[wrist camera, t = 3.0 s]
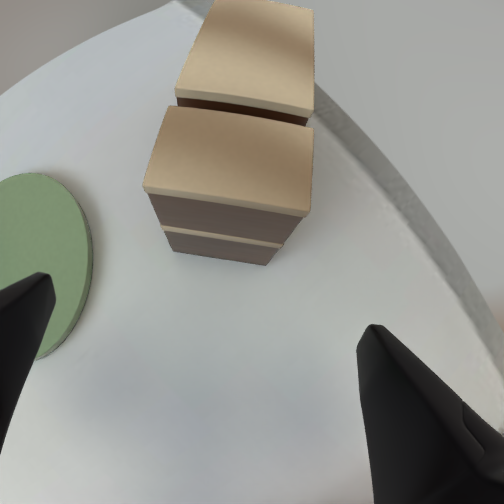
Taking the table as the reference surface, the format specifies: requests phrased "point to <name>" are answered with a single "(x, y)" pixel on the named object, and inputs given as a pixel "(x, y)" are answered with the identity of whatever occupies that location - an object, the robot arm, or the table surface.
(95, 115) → the table surface
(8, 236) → the plate
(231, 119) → the cake slice
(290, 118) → the cake loaf
